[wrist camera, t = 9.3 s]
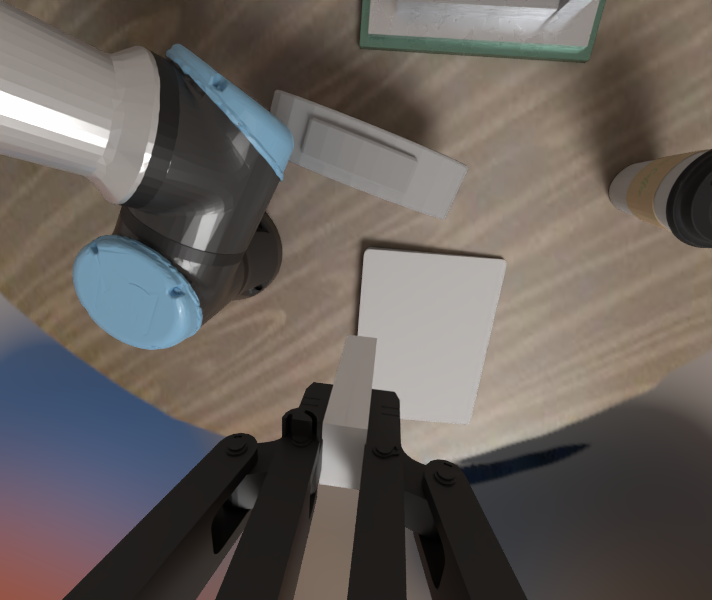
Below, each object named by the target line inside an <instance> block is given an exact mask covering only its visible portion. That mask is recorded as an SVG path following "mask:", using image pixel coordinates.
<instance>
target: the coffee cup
mask: <svg viewBox="0 0 712 600" xmlns="http://www.w3.org/2000/svg"><path fill="white" fill-rule="evenodd" d="M609 197H610V200H611V202H612V204H613V205H614V206H615V207H616V208H618V209H619V210H622V211H624V212H626V213H629V214H631V215H634V216H636V217H637V218H638V219H640V220H642V221H645V222H647V223H650V224H652V225H655V226H657V227H660V228H662V229H665V230H667V231H670V232H672V233H673V234H674V235H675V236H676V237H677V238H678V239H679V240H680V241H682V242H684V243H686V244H688V245H691V246H694V247H700V248H712V149H711V150H701V151H695V152H690V153H684V154H678V155H672V156H667V157H663V158H659V159H657V160H652V161H646V162H640V163H636V164H632V165H630V166H628V167H626V168H625V169H623V170H622V171H621V172H620V173H619V174H618V175H617V176H616V177H615V178H614V180H613V181H612V183H611V185H610V189H609Z"/></svg>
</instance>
